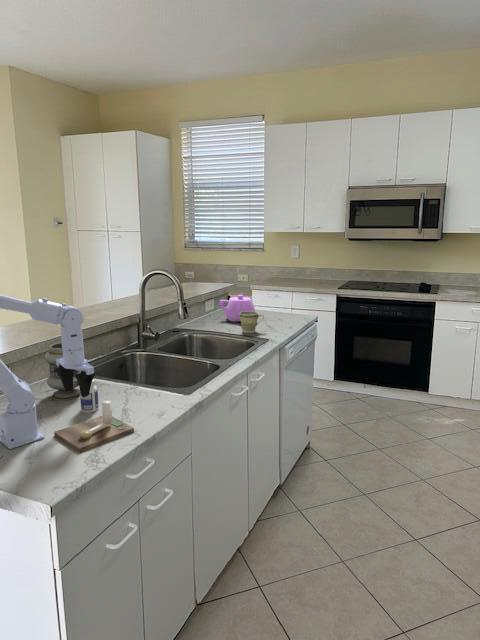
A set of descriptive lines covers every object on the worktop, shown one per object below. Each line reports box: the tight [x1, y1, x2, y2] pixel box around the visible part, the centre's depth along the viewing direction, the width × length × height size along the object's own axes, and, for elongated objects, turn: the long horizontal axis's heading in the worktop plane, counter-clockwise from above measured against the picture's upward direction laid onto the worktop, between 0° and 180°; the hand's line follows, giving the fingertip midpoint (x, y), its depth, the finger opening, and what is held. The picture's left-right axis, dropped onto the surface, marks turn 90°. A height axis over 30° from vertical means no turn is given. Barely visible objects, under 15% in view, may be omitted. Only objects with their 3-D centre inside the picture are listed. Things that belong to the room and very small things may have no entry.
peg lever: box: [80, 400, 113, 439], centre depth 135 cm, size 11×3×7 cm, turn 149°
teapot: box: [218, 294, 256, 323], centre depth 278 cm, size 23×21×15 cm
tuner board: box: [53, 415, 135, 453], centre depth 137 cm, size 17×14×1 cm
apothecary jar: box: [44, 341, 81, 401], centre depth 164 cm, size 12×12×18 cm
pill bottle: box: [79, 378, 100, 413], centre depth 153 cm, size 5×5×10 cm
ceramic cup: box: [239, 311, 265, 334], centre depth 254 cm, size 13×10×10 cm
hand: (77, 393), depth 139 cm, fingers open, 7 cm apart
